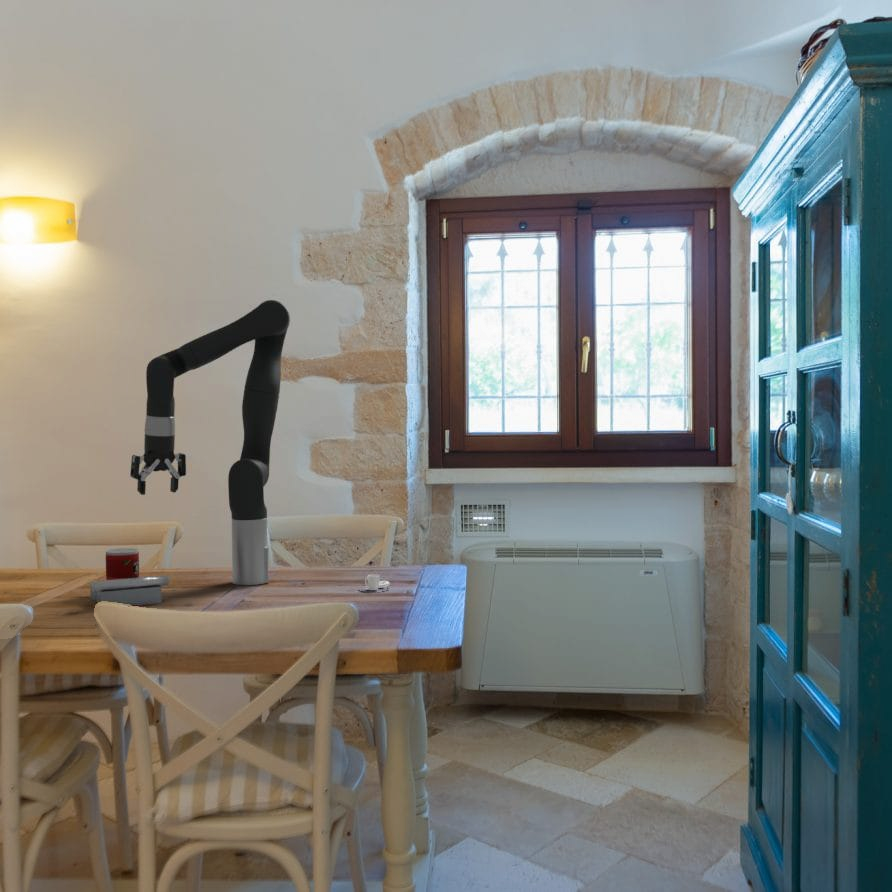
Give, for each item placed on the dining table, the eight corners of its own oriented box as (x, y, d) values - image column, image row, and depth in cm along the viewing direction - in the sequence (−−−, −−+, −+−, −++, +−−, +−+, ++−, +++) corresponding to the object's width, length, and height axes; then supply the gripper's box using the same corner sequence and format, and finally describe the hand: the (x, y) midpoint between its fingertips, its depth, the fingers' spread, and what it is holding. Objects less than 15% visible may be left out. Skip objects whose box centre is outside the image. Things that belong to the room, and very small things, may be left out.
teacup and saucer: (386, 586, 232) (386, 571, 232) (396, 592, 225) (396, 576, 225) (354, 589, 229) (354, 573, 229) (363, 595, 221) (363, 579, 221)
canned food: (129, 597, 218) (128, 553, 218) (99, 596, 220) (98, 552, 219) (145, 591, 225) (144, 548, 225) (117, 590, 227) (116, 547, 227)
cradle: (159, 592, 224) (159, 567, 224) (169, 602, 212) (168, 576, 212) (87, 599, 216) (86, 573, 216) (93, 610, 204) (92, 582, 204)
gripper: (139, 435, 225) (137, 498, 227) (191, 434, 234) (189, 493, 237) (127, 431, 230) (125, 492, 233) (179, 429, 240) (177, 488, 242)
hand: (158, 493), depth 235 cm, fingers open, 8 cm apart
